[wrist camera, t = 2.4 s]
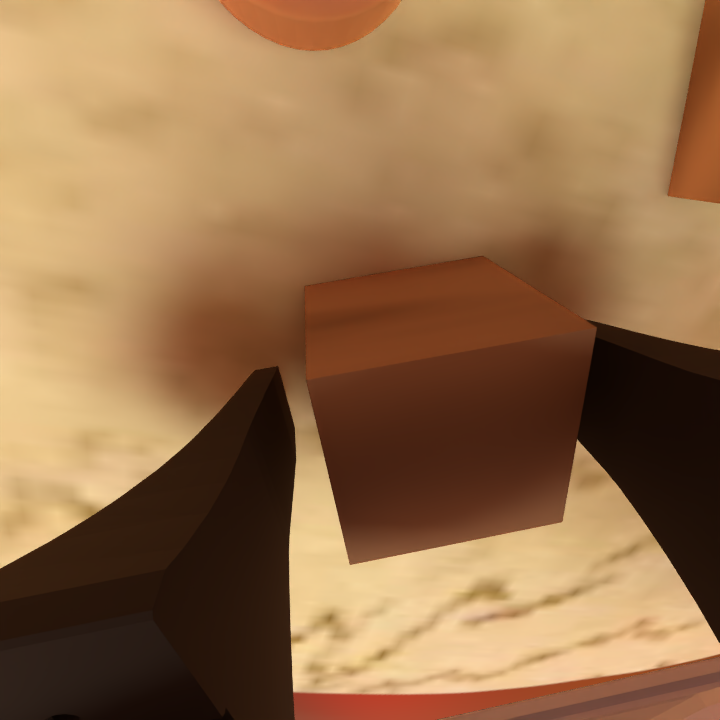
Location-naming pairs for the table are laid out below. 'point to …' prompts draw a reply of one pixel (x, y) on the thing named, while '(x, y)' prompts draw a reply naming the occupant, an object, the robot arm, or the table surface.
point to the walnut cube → (444, 403)
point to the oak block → (701, 118)
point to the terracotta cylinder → (311, 20)
